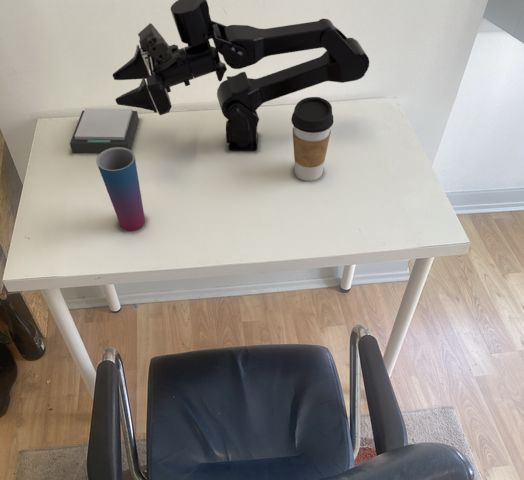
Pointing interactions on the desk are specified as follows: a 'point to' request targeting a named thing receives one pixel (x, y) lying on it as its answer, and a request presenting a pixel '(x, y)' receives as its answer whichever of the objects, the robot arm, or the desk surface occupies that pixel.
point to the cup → (122, 186)
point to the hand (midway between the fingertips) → (114, 89)
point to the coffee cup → (311, 136)
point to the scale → (104, 130)
